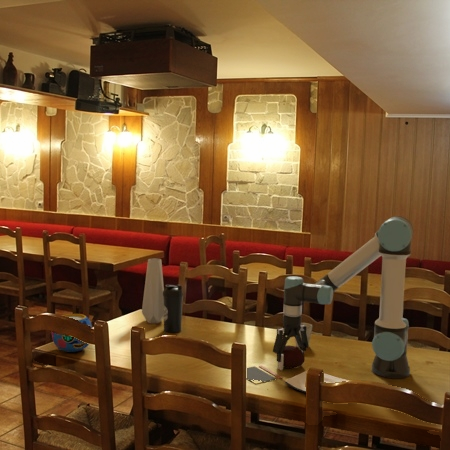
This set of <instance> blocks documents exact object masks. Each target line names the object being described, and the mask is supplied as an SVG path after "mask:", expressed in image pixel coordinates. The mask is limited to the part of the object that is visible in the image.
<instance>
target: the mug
mask: <svg viewBox="0 0 450 450" xmlns="http://www.w3.org/2000/svg"><path fill="white" fill-rule="evenodd" d="M301 325H304V326H306V327H307V328H306V334H307V340H308V345H309V346H310V343H311V337H312V331H313V324H311V323H308V322H301V324H300V326H301ZM299 333H300V337H301V332H300V331H299ZM294 339H295V338H294ZM301 340H302V338H301ZM295 347H297V348H299V346H298V343H297V341H296V339H295Z"/></svg>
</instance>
